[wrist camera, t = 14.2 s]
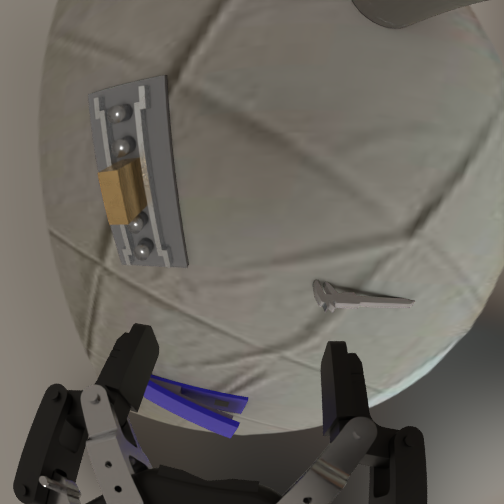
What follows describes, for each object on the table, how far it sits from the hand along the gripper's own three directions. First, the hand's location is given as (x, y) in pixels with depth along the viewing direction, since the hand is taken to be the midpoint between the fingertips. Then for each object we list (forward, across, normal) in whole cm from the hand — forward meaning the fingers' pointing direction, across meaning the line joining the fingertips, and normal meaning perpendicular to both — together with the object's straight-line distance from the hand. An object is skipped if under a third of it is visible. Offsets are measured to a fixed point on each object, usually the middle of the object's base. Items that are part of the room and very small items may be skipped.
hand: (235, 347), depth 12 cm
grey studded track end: (+25, +18, +7) cm, 32 cm away
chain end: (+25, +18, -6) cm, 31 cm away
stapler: (+25, +18, +58) cm, 66 cm away
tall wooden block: (+25, +18, +1) cm, 31 cm away
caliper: (+26, -18, +19) cm, 37 cm away
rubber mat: (+26, +18, +1) cm, 31 cm away
